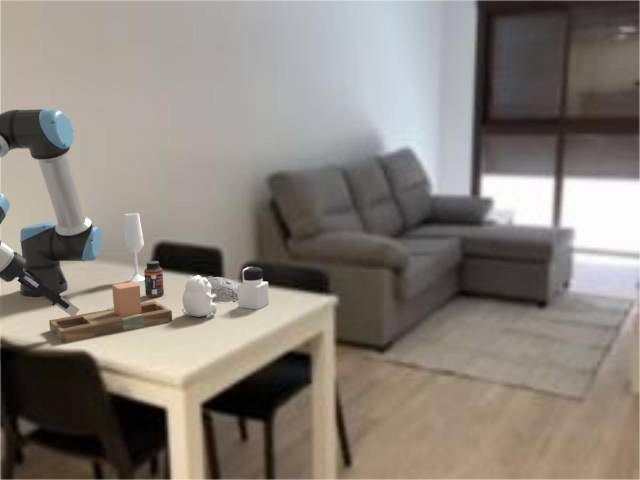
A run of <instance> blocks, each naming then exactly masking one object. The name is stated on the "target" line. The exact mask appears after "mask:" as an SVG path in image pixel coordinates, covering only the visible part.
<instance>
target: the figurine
mask: <svg viewBox="0 0 640 480" xmlns="http://www.w3.org/2000/svg"><path fill="white" fill-rule="evenodd" d="M214 297H217V296H216V295H215V294H212V295H211V284H210V283H209V282H208V280H207V277H203V276H201V275H199V274H197V275H195V276H193V275H189V279H188V280H187V282H186V283H185V290H184V292H183V294H182V304H183V305H182V307H183V309H181V312H182V314H185V315H190V316H192V317H196V318H197V317H198V318H200V317H204V316H208V315H210V314H211V313H212V315H216V313H217V309H218V306H217V304H216V303H215V302H213V301H212V299H213V298H214ZM184 310H185V311H184Z"/></svg>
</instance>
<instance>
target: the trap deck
mask: <svg viewBox="0 0 640 480" xmlns="http://www.w3.org/2000/svg"><path fill="white" fill-rule="evenodd" d="M141 312H142V313H137V314H131V315H126V316H120V315H118V314H117V313H116V312H114V307H110V308H107V309H104V310H99V311H93V312H88V313H81V314H76V315H75V316H74V317H72V316H71V315H69V316H65V317H60V318H55V319H50V320H49V330H50V332H51V333H52V334H53V335H54V336H55V337H56V338H57V339H58V340H59V341H60V342H61V343H62V344H63V343H64V344H65V343H68V342H73V341H78V340H84V339H89V338H93V337H94V338H95V337H98V336H102V335H109V334H113V333H119V332H123V331H129V330H135V329H139V328H144V327H147V326H153V325H159V324H162V323H168V322H172V321H173V311H172V310H171V309H170V308H168V307H166V306H164V305H163V304H161V303H159V302H157V301H154V300H153V301H148V302H143V303H142V302H141Z"/></svg>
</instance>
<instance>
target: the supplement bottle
mask: <svg viewBox="0 0 640 480" xmlns="http://www.w3.org/2000/svg"><path fill="white" fill-rule="evenodd" d="M143 271H144V276H143V277H145V280H144V285H145V287H144V288H145V289H144V292H145V296H146V297H149V298H158V297H162V296H163V295H164V294H165V293H164V291H165V290H164V272H163V268H162V267H161V266H160V262H159V261H157V260H151V261H147V262H146V268H145V269H144V270H143Z"/></svg>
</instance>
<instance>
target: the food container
mask: <svg viewBox="0 0 640 480" xmlns="http://www.w3.org/2000/svg"><path fill="white" fill-rule="evenodd" d="M206 279H207V280H208V282H209V283H210V284H211V295H212V294H215V295H216V296H217V297H214V298H213V299H212V303H217V302H230V301H238V288H237V286H238V285H239V284H240V283H238V282H237V281H236V280H235V281H234V280H232V279H229V278H225V277H220V276H216V277H215V276H212V275H211V276H210V275H209V276H208V277H206Z"/></svg>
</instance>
